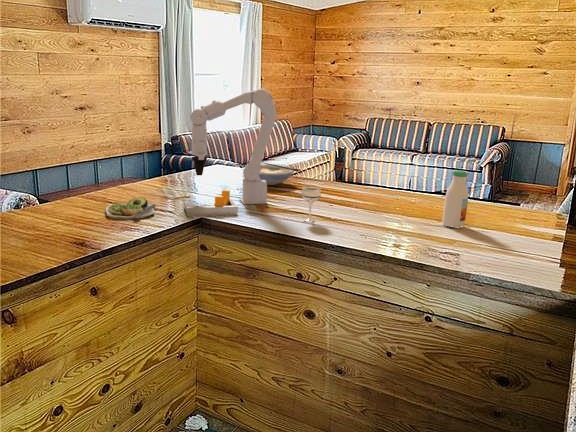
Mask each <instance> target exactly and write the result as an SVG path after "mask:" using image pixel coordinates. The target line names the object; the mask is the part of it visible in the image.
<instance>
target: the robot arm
mask: <svg viewBox="0 0 576 432" xmlns="http://www.w3.org/2000/svg"><path fill="white" fill-rule="evenodd" d="M243 104H248V105H253V104H254V105H255V106H256V107H257V108H258V109H259V110H260V111H261V114H262V116H263V119H262V122H261V125H260V127H259V128H260V129H259V132H258V134H257V137H256V140H255V144H254V146H253V150H252V153H251V155H250V158H249V161H248V162H247V163H246V165H245V166H244V169H243V171H242V173H243V174H242V175H243V178H242V198H239V201H241V202H242V204H243V205H257V204H258V205H260V204H268V202H267V199H268V198H267V197H268V186H267V182H266V180H261V178H260V177H259V174H260V172H261V166H260V165H261V163H262V160H263V157H264V155H265V152H266V148H267V146H268V143H269V139H270V137H271V135H272V134H271V133H272V131H273V128H274V125H275V123H276V119H277V115H278V113H277V110H276V106H275V105H276V104H275V102H274V98H273V95H272V94H271V93H270V92H269V90H268V89H267V88H259V89H257V90H252V91H247V92H243V93H242V94H240V95H238V96H235V97H232V98H231V99H227V100H226V101H224V102H223V101H221V100H212V101H211V103H209V104H207V105H205V106H204V105H201V106H200V108H197V109H195V110H193V111H192V112H191V114H190V117H189V119H190V121H191V150H190V151H188V154H189V155H193V156H191V160H192V161H193V164H194V171H195V174H196V176H203V174H204V169H205V168H204V167H205V164H206V162H207V161H208V157H207V155H208V151H207V150H208V149H207V146H208V143H207V142H208V141H207V140H208V139H207V137H208V136H207V135H208V132H207V121H209V122H210V121H213V120H215V119H218V118H221V117H223V116H225V114H226V112H227V111H228V110H230V109H232V108H235V107H239V106H241V105H243Z"/></svg>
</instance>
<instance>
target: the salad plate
mask: <svg viewBox="0 0 576 432" xmlns="http://www.w3.org/2000/svg"><path fill="white" fill-rule="evenodd" d="M156 207H157V204H154V203H153V204H149V203H148V200H147V198H145V197H143V196H142V197H141V196H140V197H134V198H131V199H130V200H128V202H127V204H122V203H121V204H120V203H119V204H118V203H115V204H111V205H108V206H106V207H105V214H106V216H108V217H109V218H111V219H114V220H122V221H123V220H124V221H125V220H126V221H127V220H139V219H144V218H147V217H151V216H153V215H154V214H155V213H156V212H155V209H154V208H156ZM119 215H120V216H119ZM121 215H122V216H121Z"/></svg>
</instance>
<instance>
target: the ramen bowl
mask: <svg viewBox="0 0 576 432" xmlns="http://www.w3.org/2000/svg"><path fill="white" fill-rule="evenodd" d="M260 166H261V172H260V174H259V177H260V178H261V180H266V182H267V185H274V186H277V185H279V184H282V183H283V182H286V181H287V180H288V179H290V177H291V176H292V175H293V173H294V171H295V172H301V171H302V169H300V168H299V169H298V168H294V167H290V166H287V165H282V164H272V163H268V162H263V163H262V164H261V165H260Z"/></svg>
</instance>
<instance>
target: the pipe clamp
mask: <svg viewBox="0 0 576 432" xmlns="http://www.w3.org/2000/svg"><path fill="white" fill-rule="evenodd" d="M230 194H231V191H230V189H222V190H221V195H215V196H214V205H213V206H229V200H231V198H230V197H231V196H230Z"/></svg>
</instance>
